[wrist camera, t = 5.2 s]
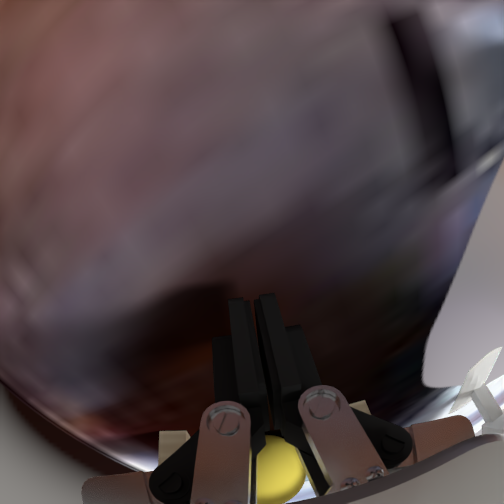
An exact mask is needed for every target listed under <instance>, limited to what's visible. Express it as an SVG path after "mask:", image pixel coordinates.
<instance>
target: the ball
mask: <svg viewBox="0 0 504 504" xmlns="http://www.w3.org/2000/svg"><path fill="white" fill-rule="evenodd" d="M265 438H266V446H265V447H264V448H263V449H262V450H261V451H260V452H259V454H258V480H257V504H283V503H285V502H287V501H289V500H290V499H291V498H293V497H294V496H295V495H296V494H297V493H298V492H299V491H300V489H301V488H302V486H303V484H304V482H305V478H306V472H305V470H304V468H303V466H302V463H301V461H300V459H299V456H298V454H297V452H296V450H295V447H294V446H293V445H291V444H289V443H287V442H285V439H283V438H281V437H278V436H272V435H265Z"/></svg>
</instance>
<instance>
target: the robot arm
mask: <svg viewBox="0 0 504 504" xmlns="http://www.w3.org/2000/svg"><path fill="white" fill-rule="evenodd" d="M228 304H229V314H230V324H231V333H232V335H228V336H220V337H213V338H212V352H213V373H214V391H215V404H213V405H211V406H210V407H208V408H207V409H206V411H205V412H204V413H203V416H202V419H201V424H200V429H199V430H198V431H197V432H196V433H195V434H194V435H193V436H192V437H191V438H190V439H188V440H187V441H186V442H185V443H184V444H183V445H182V446H181V447H180V448H179V449H177V450H176V451H175V452H174V453H173V454H172V455H171V456H170V457H168V458H167V459H166V460H165V461H164V462H163V463H161V464H160V465H159V466H158V467H157V468H156V469H155V470H154V471H150V472H143V471H139V472H133V473H126V474H118V475H109V476H101V477H100V476H99V477H93V478H89V479H88V480H86V481H85V482H84V484H83V486H82V500H83V504H257V480H258V454H259V452H260V451H261V450H262V449H263V448H264V447H265V446H266V438H265V431H270V426H269V414H268V402H267V395H268V400H269V405H270V410H271V415H272V420H273V425H274V429H275V430H277V429H280V430H281V435H282V436H284V439H285V442H287V443H289V444H291V445H293V446H294V447H295V450H296V452H297V454H298V456H299V459H300V461H301V463H302V466H303V468H304V470H305V472H306V475H307V477H308V479H309V481H310V484H311V486H312V488H313V490H314V492H315V495H316V497H315V498H311V499H307V500H302V501H297V502H292V503H286V504H504V434H502V433H489V434H483V435H479V436H475V434H474V430H473V427H472V424H471V422H470V421H469V420H468V419H467V418H466V417H464V416H461V415H456V416H451V417H447V418H443V419H438V420H433V421H429V422H423V423H418V424H412V425H411V426H410V427H406V428H402V427H400V426H398V425H395V424H393V423H390V422H387V421H385V420H382V419H380V418H377V417H375V416H372V415H370V414H367V413H365V412H362V411H360V410H357V409H355V408H353V407H350V406H349V404H348V402H347V401H346V399H345V397H344V396H343V395H342V393H341V392H340V391H339V390H337V389H335V388H334V387H330V386H325V385H322V384H321V381H320V378H319V375H318V372H317V369H316V366H315V364H314V361H313V358H312V355H311V352H310V349H309V346H308V344H307V341H306V338H305V335H304V332H303V330H302V327H301V326H300V325H295V326H289V327H284V323H283V320H282V317H281V313H280V310H279V307H278V303H277V300H276V297H275V294H274V293H270V294H263V295H259V299H256V300H254V306H255V316H256V326H257V336H258V343H257V338H256V333H255V328H254V322H253V317H252V312H251V306H250V301H243V297H242V298H235V299H228ZM258 346H259V348H258ZM259 353H260V354H259ZM265 384H266V385H265ZM266 389H267V392H266Z"/></svg>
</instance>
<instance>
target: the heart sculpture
mask: <svg viewBox="0 0 504 504" xmlns="http://www.w3.org/2000/svg"><path fill="white" fill-rule="evenodd" d="M501 348H502V347H499V348H497V349H495V350H493V351H491V352H490V353H488V354H487V355H486V356H485V357H483V358H482V359H481V360H480V361H479V362H478V363H477V364H476V365H475V366H474V367H472V368H471V369H470V371H468V374H467V376H466V378H465V381H464V383H463V385H462V387H461V390H460V392H459V394H458V396H457V398H456V400H455V402H454V405H453V407H452V409H451V411H450V413H452V412H454V411H456V410H458V409H460V408H462V407H463V406H465V405H466V404H467V403H469V402H470V401H471V400H473V402H474V403H475V405H476V407H477V409H478V410H479V412H480V414H481V415H482V417H483V419H484V421H485V423H484V424H483V425H482V435H483V434H489V433H502V434H504V409H503V410H501V408H500V407H499V405H498V403H497V402H496V400H495V399H494V397H493V395H492V394H491V392H490V391H489V389H488V387H487V386H486V384H485V381H486V379H487V377H488V376H489V374H490V372H491V370H492V368H493V366H494V364H495V362H496V360H497V357H498V355H499V353H500V351H501ZM450 413H449V414H450Z"/></svg>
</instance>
